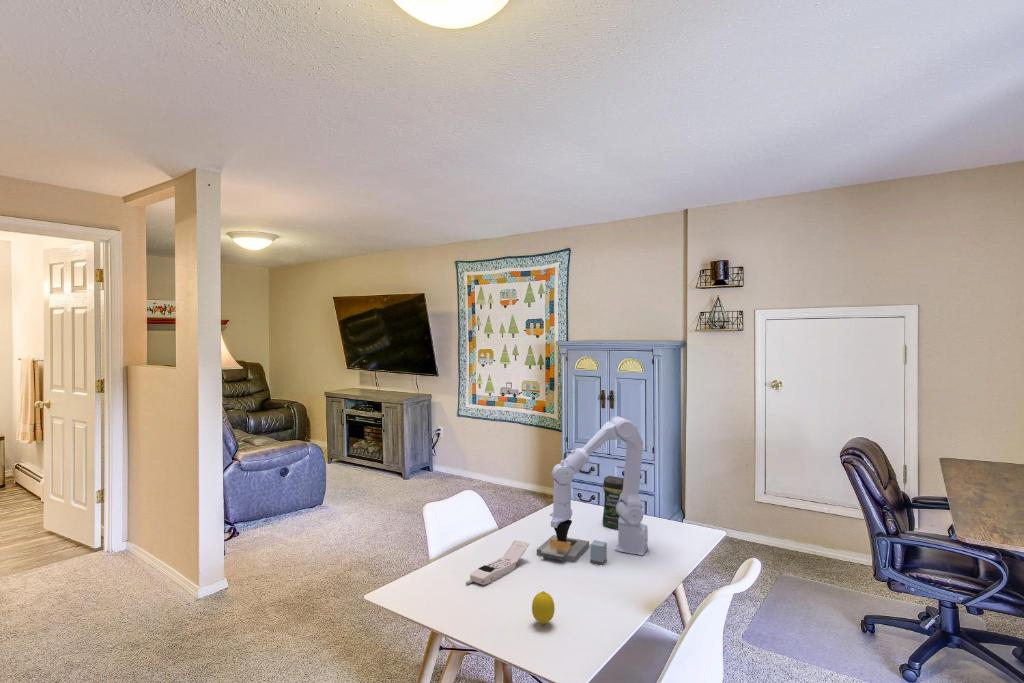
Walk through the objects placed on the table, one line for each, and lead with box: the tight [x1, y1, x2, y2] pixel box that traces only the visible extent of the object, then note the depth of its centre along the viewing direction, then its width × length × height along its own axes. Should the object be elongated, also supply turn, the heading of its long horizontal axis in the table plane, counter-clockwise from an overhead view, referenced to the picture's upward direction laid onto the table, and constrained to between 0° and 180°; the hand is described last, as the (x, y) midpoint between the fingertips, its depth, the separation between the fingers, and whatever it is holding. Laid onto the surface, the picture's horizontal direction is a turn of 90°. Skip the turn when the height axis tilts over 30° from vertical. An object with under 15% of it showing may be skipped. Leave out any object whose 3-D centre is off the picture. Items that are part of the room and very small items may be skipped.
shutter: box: [541, 539, 572, 557], centre depth 170 cm, size 8×8×2 cm
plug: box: [589, 539, 608, 567], centre depth 167 cm, size 4×4×6 cm
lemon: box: [531, 590, 555, 626], centre depth 130 cm, size 6×6×8 cm
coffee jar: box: [602, 475, 624, 530], centre depth 200 cm, size 10×8×19 cm
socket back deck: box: [536, 541, 583, 564], centre depth 172 cm, size 13×7×2 cm, turn 64°
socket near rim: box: [571, 541, 589, 555], centre depth 176 cm, size 4×6×2 cm, turn 154°
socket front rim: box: [552, 534, 590, 548], centre depth 182 cm, size 13×2×2 cm, turn 64°
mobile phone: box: [465, 539, 530, 586], centre depth 160 cm, size 6×6×25 cm
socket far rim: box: [545, 535, 557, 543], centre depth 180 cm, size 4×6×2 cm, turn 154°
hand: (561, 542), depth 174 cm, fingers closed
